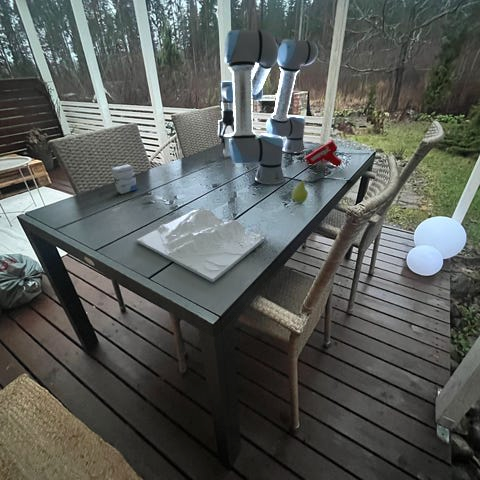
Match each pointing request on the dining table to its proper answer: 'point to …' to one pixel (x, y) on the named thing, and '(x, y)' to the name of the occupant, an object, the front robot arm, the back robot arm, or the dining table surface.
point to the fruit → (300, 192)
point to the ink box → (124, 178)
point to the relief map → (202, 243)
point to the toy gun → (324, 155)
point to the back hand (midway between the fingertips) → (256, 96)
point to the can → (227, 144)
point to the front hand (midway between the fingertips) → (229, 147)
